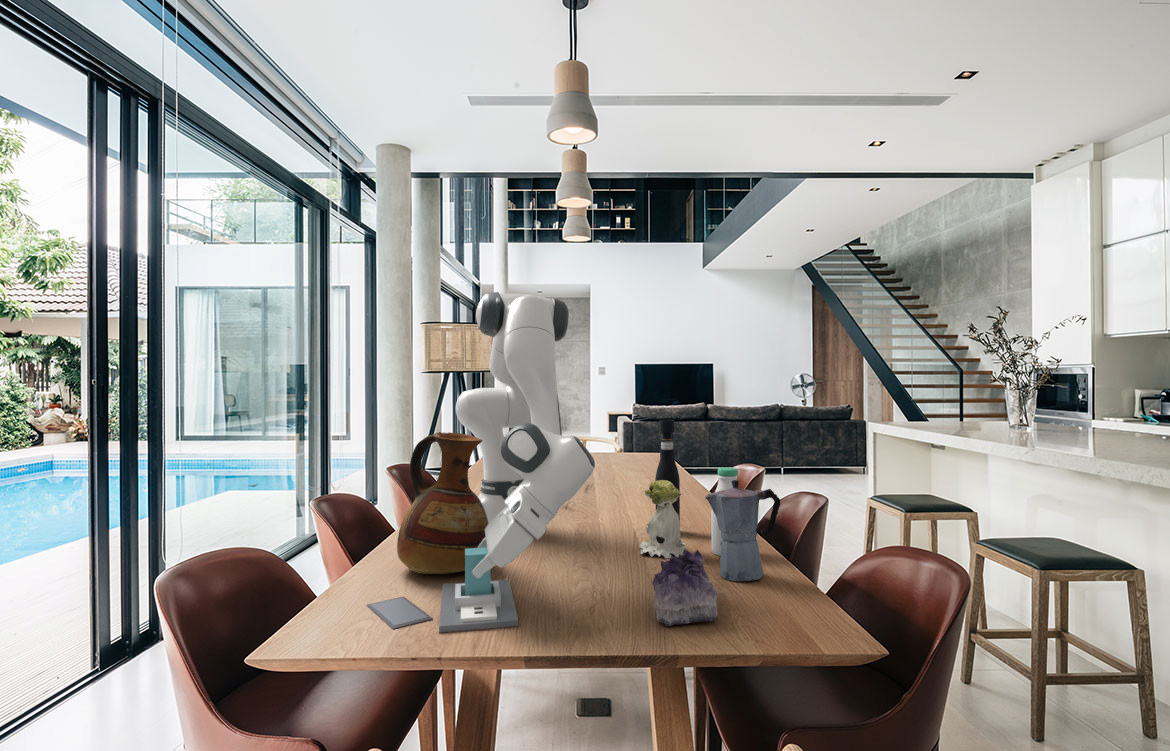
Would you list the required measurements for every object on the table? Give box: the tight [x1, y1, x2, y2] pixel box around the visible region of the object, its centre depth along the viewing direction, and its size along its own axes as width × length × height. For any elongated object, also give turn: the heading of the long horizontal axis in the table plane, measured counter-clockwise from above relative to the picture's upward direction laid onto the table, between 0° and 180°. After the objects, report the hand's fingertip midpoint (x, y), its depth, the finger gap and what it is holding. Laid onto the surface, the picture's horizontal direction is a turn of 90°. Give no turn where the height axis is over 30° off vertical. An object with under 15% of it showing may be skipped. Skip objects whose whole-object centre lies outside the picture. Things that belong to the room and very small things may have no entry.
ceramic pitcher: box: [396, 431, 488, 575], centre depth 139 cm, size 20×20×30 cm
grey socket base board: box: [438, 578, 519, 633], centre depth 117 cm, size 22×13×3 cm, turn 11°
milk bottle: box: [710, 466, 739, 557], centre depth 150 cm, size 8×8×20 cm
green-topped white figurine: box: [638, 480, 688, 559], centre depth 152 cm, size 11×12×17 cm
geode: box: [651, 549, 719, 627], centre depth 115 cm, size 20×12×10 cm, turn 173°
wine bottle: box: [654, 419, 681, 522], centre depth 170 cm, size 6×6×30 cm
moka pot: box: [704, 480, 782, 582], centre depth 133 cm, size 10×15×20 cm, turn 88°
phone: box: [366, 595, 434, 630], centre depth 114 cm, size 7×14×1 cm, turn 36°
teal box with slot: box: [464, 547, 492, 596], centre depth 117 cm, size 4×5×9 cm
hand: (474, 566), depth 117 cm, fingers open, 8 cm apart
